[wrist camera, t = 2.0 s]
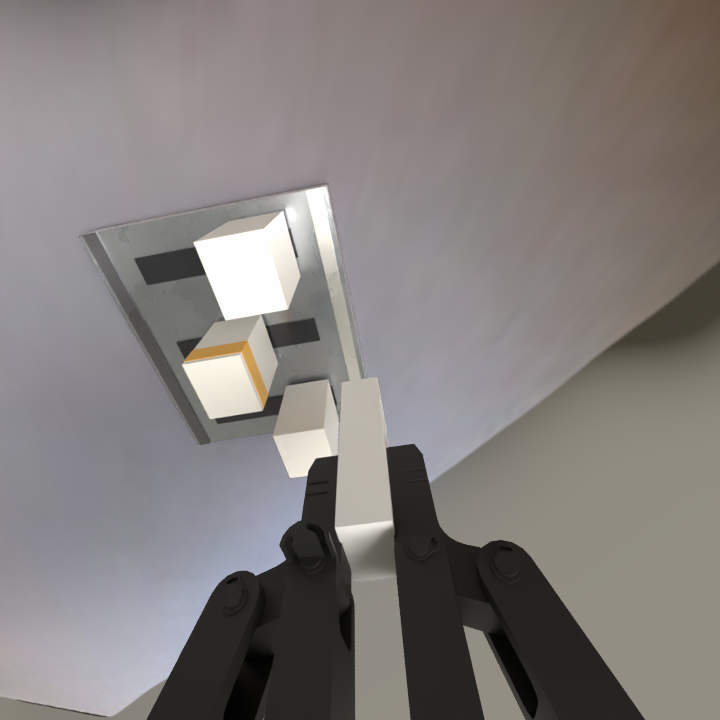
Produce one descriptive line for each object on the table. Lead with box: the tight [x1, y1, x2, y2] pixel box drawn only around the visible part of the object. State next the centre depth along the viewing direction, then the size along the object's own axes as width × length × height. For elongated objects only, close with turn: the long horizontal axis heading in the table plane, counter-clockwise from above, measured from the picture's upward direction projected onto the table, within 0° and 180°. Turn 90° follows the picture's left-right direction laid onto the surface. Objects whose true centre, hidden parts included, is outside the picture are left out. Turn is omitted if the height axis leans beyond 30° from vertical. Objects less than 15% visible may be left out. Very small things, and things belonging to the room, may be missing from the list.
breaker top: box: [194, 211, 300, 320], centre depth 17 cm, size 3×4×5 cm
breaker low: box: [273, 379, 339, 478], centre depth 23 cm, size 3×4×5 cm
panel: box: [79, 183, 367, 445], centre depth 24 cm, size 14×16×2 cm
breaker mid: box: [182, 314, 278, 419], centre depth 20 cm, size 3×4×5 cm
